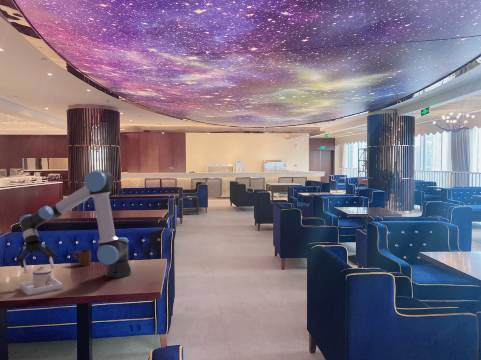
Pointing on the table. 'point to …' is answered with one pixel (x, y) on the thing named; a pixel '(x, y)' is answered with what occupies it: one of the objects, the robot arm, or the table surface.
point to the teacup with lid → (41, 277)
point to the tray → (29, 289)
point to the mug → (83, 257)
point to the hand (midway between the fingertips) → (39, 269)
